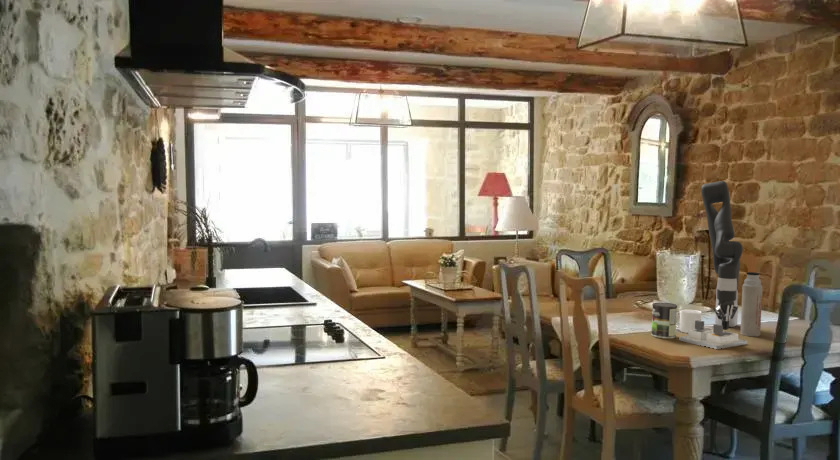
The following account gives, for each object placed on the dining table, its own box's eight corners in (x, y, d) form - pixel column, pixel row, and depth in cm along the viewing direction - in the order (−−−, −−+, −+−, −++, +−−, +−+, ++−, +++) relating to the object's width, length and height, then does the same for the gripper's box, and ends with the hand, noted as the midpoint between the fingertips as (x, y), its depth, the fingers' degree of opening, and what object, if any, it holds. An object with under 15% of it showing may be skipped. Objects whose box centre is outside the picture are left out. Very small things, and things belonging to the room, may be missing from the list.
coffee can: (657, 338, 289) (658, 306, 288) (647, 333, 299) (648, 302, 298) (680, 338, 290) (681, 306, 289) (669, 333, 300) (670, 302, 299)
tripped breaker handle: (716, 332, 280) (716, 324, 279) (722, 333, 277) (723, 325, 277) (713, 332, 279) (713, 324, 278) (719, 334, 276) (719, 325, 276)
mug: (703, 331, 304) (704, 311, 304) (695, 334, 298) (696, 314, 297) (678, 327, 313) (678, 307, 312) (669, 330, 306) (670, 310, 306)
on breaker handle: (697, 328, 287) (698, 320, 287) (703, 329, 285) (704, 321, 284) (694, 328, 286) (695, 320, 286) (700, 330, 284) (701, 321, 283)
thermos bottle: (764, 335, 298) (767, 273, 296) (752, 337, 294) (755, 274, 293) (748, 331, 305) (750, 270, 303) (736, 333, 301) (739, 271, 300)
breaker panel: (709, 335, 296) (709, 325, 296) (746, 344, 281) (747, 333, 280) (679, 340, 286) (679, 329, 286) (716, 349, 271) (716, 338, 270)
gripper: (728, 286, 286) (727, 326, 287) (708, 288, 279) (707, 329, 280) (744, 288, 279) (743, 329, 281) (724, 291, 273) (723, 332, 274)
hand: (725, 329), depth 281 cm, fingers closed
